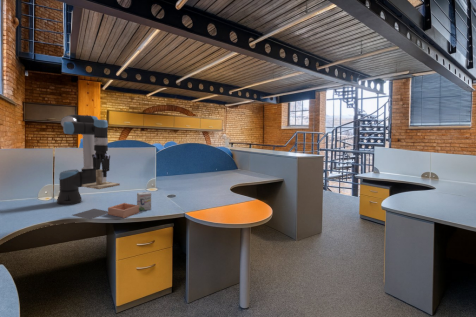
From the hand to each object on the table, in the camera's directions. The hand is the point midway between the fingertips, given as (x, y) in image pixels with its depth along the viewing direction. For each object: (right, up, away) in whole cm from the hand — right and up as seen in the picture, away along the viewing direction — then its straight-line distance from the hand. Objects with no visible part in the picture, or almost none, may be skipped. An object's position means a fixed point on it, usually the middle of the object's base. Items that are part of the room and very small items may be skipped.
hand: (101, 181), depth 160 cm
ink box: (+21, -21, +17) cm, 34 cm away
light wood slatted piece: (0, -3, 0) cm, 3 cm away
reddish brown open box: (+12, -21, +5) cm, 25 cm away
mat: (-7, -21, +1) cm, 22 cm away
